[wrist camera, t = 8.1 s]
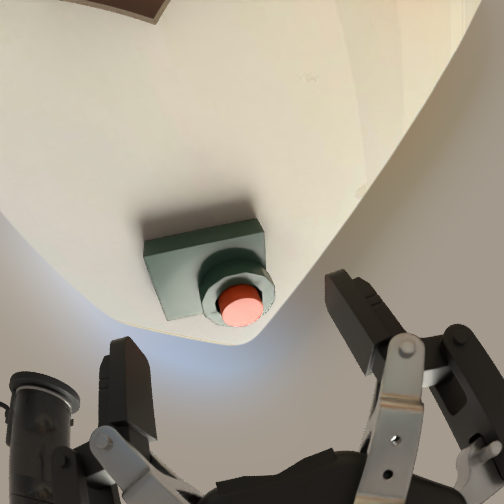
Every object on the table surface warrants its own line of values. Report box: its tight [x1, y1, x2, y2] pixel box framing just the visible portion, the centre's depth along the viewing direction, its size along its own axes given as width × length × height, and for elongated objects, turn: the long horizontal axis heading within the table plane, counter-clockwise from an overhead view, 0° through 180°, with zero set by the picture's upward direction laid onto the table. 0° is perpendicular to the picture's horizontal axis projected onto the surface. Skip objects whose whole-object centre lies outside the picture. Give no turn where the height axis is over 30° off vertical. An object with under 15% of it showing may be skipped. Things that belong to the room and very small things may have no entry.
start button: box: [218, 284, 263, 327], centre depth 26 cm, size 4×4×2 cm
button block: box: [143, 218, 275, 327], centre depth 27 cm, size 10×9×4 cm
